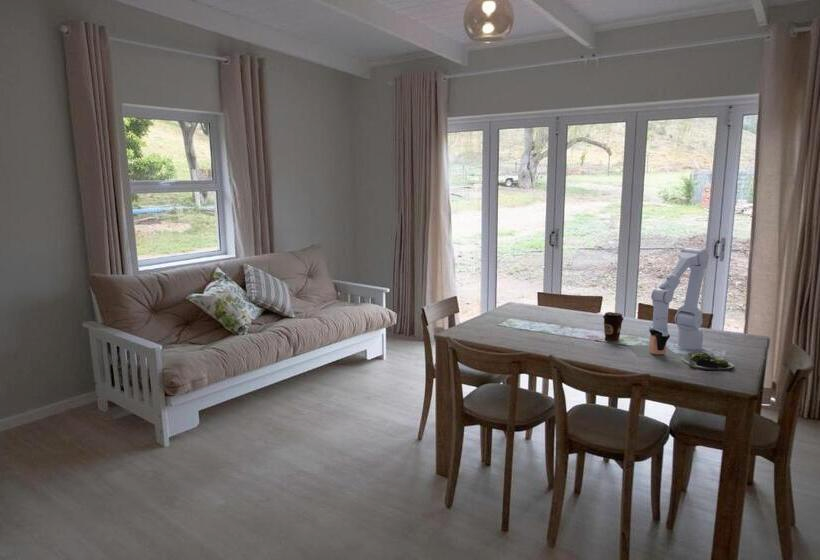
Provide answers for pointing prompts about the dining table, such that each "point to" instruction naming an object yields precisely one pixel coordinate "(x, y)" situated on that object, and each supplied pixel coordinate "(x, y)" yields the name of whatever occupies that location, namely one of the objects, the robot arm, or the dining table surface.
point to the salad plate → (707, 362)
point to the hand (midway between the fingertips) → (658, 348)
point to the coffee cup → (612, 326)
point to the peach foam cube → (655, 346)
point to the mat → (644, 352)
